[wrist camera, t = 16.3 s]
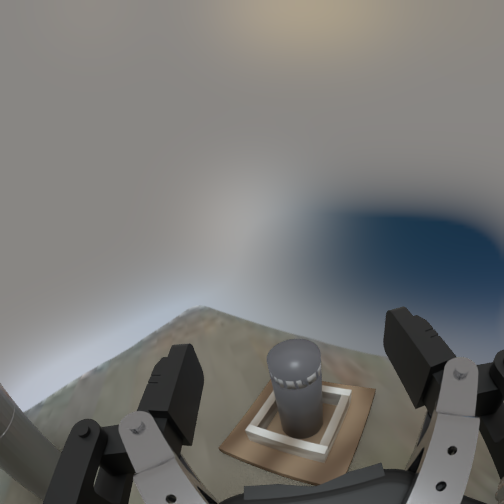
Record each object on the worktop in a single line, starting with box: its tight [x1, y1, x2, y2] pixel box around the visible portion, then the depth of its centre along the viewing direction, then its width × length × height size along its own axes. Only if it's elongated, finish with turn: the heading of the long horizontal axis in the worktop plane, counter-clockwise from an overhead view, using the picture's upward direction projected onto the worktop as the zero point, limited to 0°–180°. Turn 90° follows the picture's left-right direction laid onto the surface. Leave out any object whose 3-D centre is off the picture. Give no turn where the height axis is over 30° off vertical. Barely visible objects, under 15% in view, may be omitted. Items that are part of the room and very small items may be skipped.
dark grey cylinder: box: [267, 339, 323, 439], centre depth 26 cm, size 5×5×12 cm
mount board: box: [219, 379, 376, 486], centre depth 28 cm, size 15×15×4 cm
